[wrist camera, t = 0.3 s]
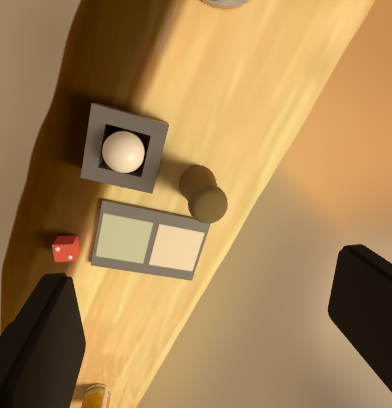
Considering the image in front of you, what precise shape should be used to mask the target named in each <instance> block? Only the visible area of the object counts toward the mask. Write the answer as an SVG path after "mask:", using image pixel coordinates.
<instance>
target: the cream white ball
mask: <svg viewBox="0 0 392 408" xmlns="http://www.w3.org/2000/svg"><path fill="white" fill-rule="evenodd" d="M144 153H145V149H144V145H143V142H142V141H141V139H140V138H139V137H138V136H137V135H136V134H134V133H132V132H130V131H117V132H115V133H113V134H112V135H110V136H109V137H108V138H107V139H106V140H105V142H104V144H103V148H102V155H103V158H104V161H105V162H106V164H107V165H108V166H109V167H110V168H111V169H113V170H114V171H117V172H120V173H129V172H132V171H134V170H136V169H137V168H138V167H139V166H140V165H141V164H142V162H143V159H144Z"/></svg>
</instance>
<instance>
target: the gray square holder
mask: <svg viewBox="0 0 392 408" xmlns="http://www.w3.org/2000/svg"><path fill="white" fill-rule="evenodd" d="M109 125H113V126H116V127H120V128H124V129H127V130H131V131H135V132H139V133H142V134H146V135H150V140H149V145H148V149H147V154H146V158H145V163H144V167H143V171H142V170H138V169H136V170H134V171H132V172H129V173H120V172H117V171H114V170H113V169H111V168H110V167H109V166H108V165H107V164H106V162H104V161H103V159H104V158H103V155H102V148H103V144H104V142H105V140H106V139H107V136H108V130H109ZM168 127H169V124H168V123H167V122H163V121H160V120H156V119H153V118H149V117H146V116H142V115H139V114H135V113H132V112H128V111H125V110H121V109H118V108H114V107H111V106H107V105H104V104H100V103H92V104H91V111H90V117H89V124H88V131H87V138H86V144H85V151H84V158H83V165H82V171H81V178H84V179H88V180H93V181H97V182H102V183H106V184H111V185H116V186H120V187H125V188H129V189H134V190H138V191H143V192H147V193H153V189H154V185H155V180H156V176H157V172H158V168H159V164H160V160H161V156H162V151H163V147H164V143H165V139H166V135H167V131H168Z"/></svg>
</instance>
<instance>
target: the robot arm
mask: <svg viewBox="0 0 392 408" xmlns="http://www.w3.org/2000/svg"><path fill="white" fill-rule="evenodd" d="M202 1H203V2H204V3H206V4H208V5H210V6H212V7H215V8H220V9H233V8H237V7H241V6H243V5H244V4H246V3H248V2H250V1H251V0H215V1H213V0H202ZM328 314H329V316H330V318H331V320H332V321H333V322H334V323H335V325H336V326H337V327H338V328H339V329H340V331H341V332H342V333H343V334H344V335H345V337H346V338H347V339H348V340H349V341H350V343H351V344H352V345H353V346H354V348H355V349H356V350H357V351H358V352H359V354H360V355H361V356H362V357H363V358H364V360H365V361H366V362H367V363H368V364H369V366H370V367H371V368H372V369H373V370H374V372H375V373H376V374H377V375H378V376H379V378H380V379H381V380H382V381H383V382H384V384H385V385H386V386H387V387H388V388H389V390H390V391H391V392H392V264H391V263H390V262H388V261H387V260H385V259H384V258H382V257H381V256H379V255H378V254H376V253H375V252H373V251H372V250H370V249H369V248H367V247H366V246H364V245H361V244H358V245H347V246H344V247H343V249H342V250H341V251H340V252H339V254H338V259H337V264H336V269H335V274H334V280H333V285H332V290H331V296H330V300H329V305H328ZM85 346H86V342H85V336H84V331H83V326H82V322H81V317H80V312H79V307H78V303H77V298H76V293H75V288H74V284H73V279H72V277H67V276H66V274H65V273H54V274H45V275H43V277H42V278H41V280H40V281H39V283H38V284H37V286H36V287H35V289H34V290H33V292H32V293H31V295H30V296H29V298H28V300H27V301H26V303H25V304H24V306H23V307H22V309H21V310H20V312H19V313H18V315H17V317H16V318H15V320H14V321H13V322H11V323H10V324H9V325H8V326H7V327H6V328H5V330H4V331H3V333H2V334H1V336H0V408H69V407H70V404H71V400H72V396H73V393H74V389H75V386H76V382H77V378H78V375H79V371H80V368H81V364H82V360H83V357H84V353H85Z"/></svg>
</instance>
